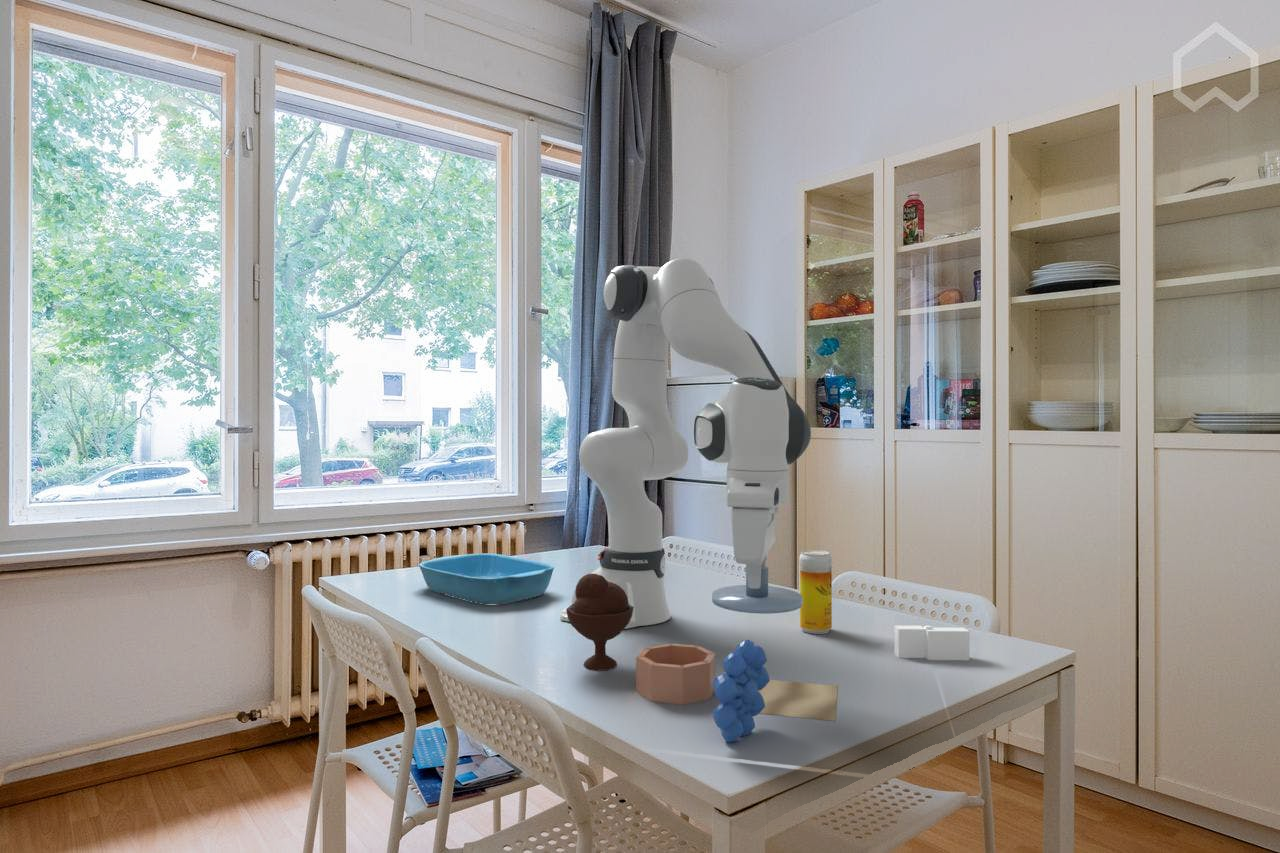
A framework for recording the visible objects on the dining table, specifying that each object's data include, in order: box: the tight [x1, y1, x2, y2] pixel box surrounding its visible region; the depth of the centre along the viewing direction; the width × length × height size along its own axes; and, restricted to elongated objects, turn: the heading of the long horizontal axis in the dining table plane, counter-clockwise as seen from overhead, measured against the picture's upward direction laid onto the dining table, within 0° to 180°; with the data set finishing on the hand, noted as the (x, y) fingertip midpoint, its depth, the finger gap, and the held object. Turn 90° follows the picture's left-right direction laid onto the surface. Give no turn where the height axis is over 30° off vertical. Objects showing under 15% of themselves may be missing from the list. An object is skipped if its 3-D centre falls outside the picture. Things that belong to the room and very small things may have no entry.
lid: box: [711, 565, 803, 615], centre depth 111 cm, size 13×13×5 cm
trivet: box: [758, 679, 839, 722], centre depth 109 cm, size 14×14×1 cm
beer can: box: [798, 549, 833, 635], centre depth 146 cm, size 6×6×15 cm
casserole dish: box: [418, 552, 555, 605], centre depth 181 cm, size 37×22×7 cm, turn 45°
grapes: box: [712, 639, 771, 744], centre depth 97 cm, size 12×7×12 cm, turn 143°
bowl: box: [635, 643, 717, 705], centre depth 113 cm, size 11×11×6 cm
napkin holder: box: [893, 625, 970, 661], centre depth 130 cm, size 15×11×6 cm
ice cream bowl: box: [566, 573, 634, 671], centre depth 126 cm, size 11×11×15 cm
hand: (756, 584), depth 111 cm, fingers closed on lid, 3 cm apart
